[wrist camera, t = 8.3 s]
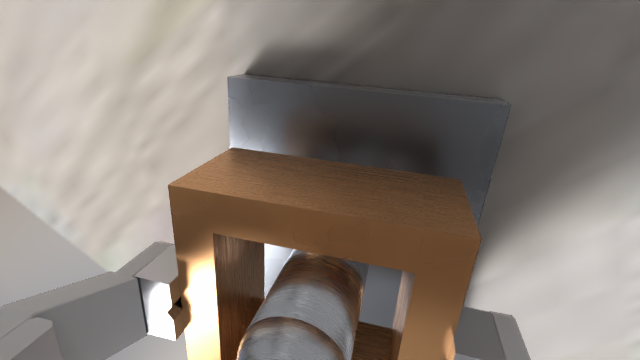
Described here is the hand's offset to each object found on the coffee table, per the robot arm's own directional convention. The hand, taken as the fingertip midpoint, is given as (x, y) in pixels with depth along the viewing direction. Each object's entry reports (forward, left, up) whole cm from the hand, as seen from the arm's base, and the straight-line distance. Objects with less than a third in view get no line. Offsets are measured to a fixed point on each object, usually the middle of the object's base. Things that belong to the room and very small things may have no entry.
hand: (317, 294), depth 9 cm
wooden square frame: (0, 0, -2) cm, 2 cm away
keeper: (0, 0, -5) cm, 5 cm away
